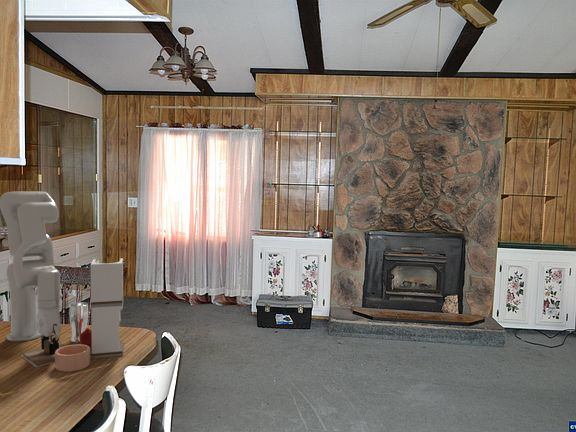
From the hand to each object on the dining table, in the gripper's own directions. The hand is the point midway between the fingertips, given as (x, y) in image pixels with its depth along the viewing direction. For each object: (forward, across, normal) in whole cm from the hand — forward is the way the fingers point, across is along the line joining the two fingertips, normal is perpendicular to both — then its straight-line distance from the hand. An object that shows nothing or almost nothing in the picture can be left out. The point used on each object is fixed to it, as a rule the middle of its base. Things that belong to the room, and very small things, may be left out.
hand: (50, 350), depth 173 cm
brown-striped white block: (+3, +11, +17) cm, 20 cm away
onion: (+2, 0, +14) cm, 14 cm away
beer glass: (+2, -10, +15) cm, 18 cm away
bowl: (+2, +15, +2) cm, 15 cm away
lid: (+2, 0, 0) cm, 2 cm away
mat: (+2, 0, 0) cm, 2 cm away
